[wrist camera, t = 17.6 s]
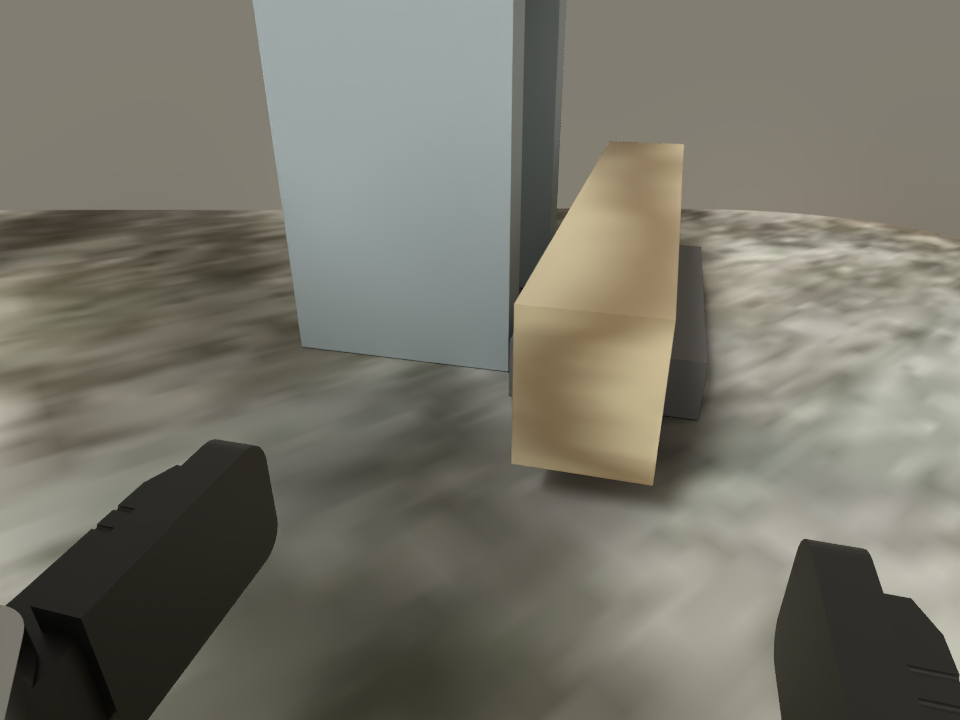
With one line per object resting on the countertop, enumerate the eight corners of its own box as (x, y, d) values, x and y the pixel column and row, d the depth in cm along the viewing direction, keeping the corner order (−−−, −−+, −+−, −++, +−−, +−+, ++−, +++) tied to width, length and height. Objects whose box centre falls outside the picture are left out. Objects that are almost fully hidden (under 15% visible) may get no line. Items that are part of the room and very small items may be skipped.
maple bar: (511, 463, 20) (514, 304, 17) (602, 228, 40) (609, 141, 38) (652, 485, 19) (675, 319, 16) (672, 233, 39) (683, 144, 37)
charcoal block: (509, 395, 28) (509, 340, 27) (561, 278, 40) (564, 237, 39) (698, 420, 26) (707, 362, 25) (694, 289, 38) (700, 246, 37)
